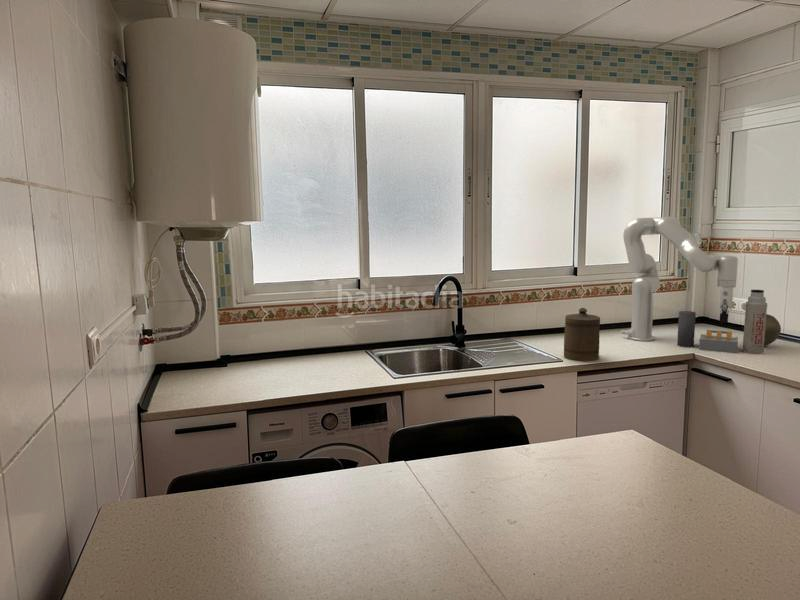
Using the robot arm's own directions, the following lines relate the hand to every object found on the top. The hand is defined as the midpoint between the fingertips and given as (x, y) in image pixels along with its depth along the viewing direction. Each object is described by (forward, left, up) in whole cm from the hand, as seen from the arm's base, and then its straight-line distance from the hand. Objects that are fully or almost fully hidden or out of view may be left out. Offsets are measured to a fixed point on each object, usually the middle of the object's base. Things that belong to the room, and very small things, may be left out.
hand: (723, 320), depth 257 cm
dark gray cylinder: (-14, +5, -13) cm, 20 cm away
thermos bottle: (+11, -5, -13) cm, 18 cm away
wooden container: (-65, -21, -14) cm, 70 cm away
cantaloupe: (+20, +8, -13) cm, 25 cm away
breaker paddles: (-1, 0, -8) cm, 8 cm away
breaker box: (-1, 0, -13) cm, 13 cm away
